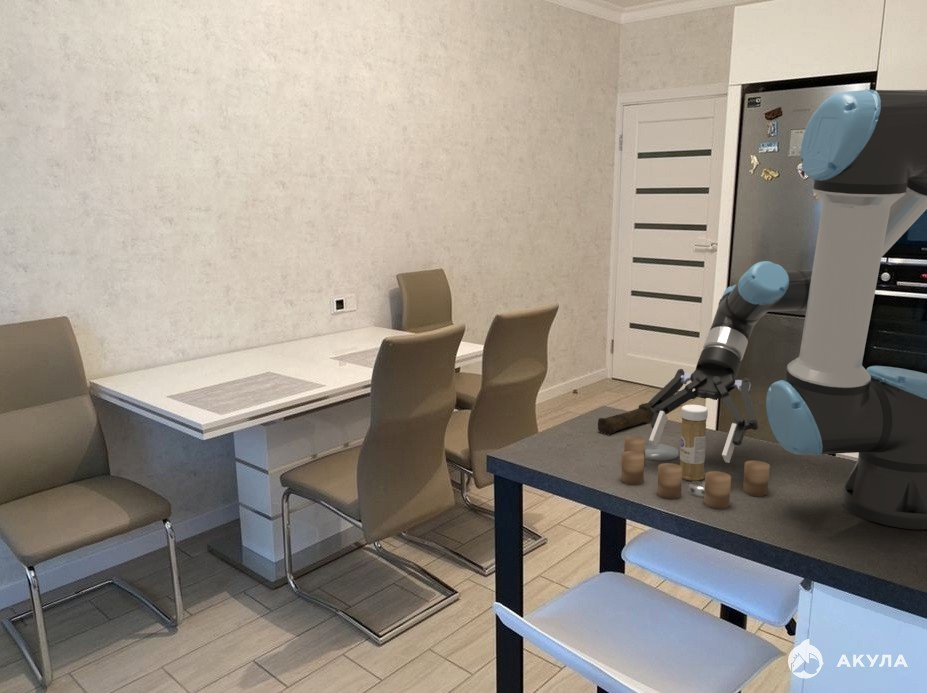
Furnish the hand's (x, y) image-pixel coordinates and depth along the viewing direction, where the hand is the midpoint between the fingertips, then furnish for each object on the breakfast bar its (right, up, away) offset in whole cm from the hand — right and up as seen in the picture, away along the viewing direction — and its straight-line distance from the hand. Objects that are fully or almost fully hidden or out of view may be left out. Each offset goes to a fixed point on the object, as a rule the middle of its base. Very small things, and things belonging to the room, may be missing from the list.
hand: (687, 451), depth 128 cm
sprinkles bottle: (+2, -5, +3) cm, 6 cm away
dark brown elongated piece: (-3, 0, +34) cm, 34 cm away
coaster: (-2, -3, +16) cm, 16 cm away
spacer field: (-1, -6, +1) cm, 6 cm away
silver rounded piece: (+1, -7, -4) cm, 8 cm away
